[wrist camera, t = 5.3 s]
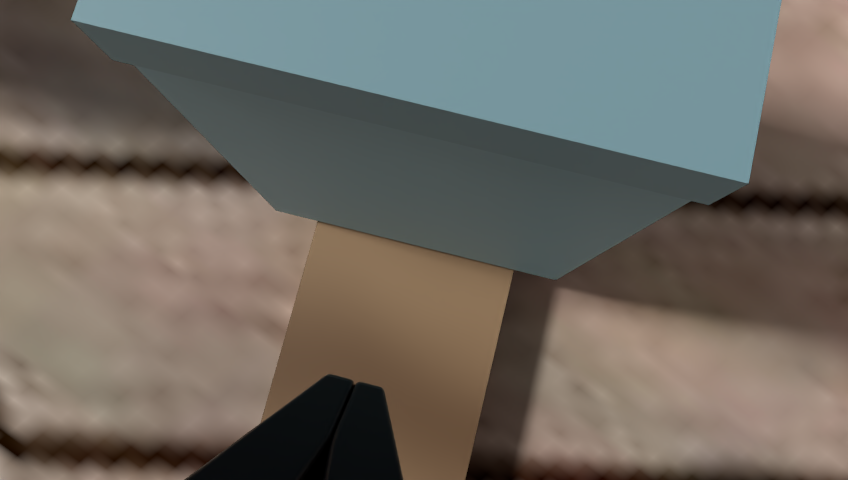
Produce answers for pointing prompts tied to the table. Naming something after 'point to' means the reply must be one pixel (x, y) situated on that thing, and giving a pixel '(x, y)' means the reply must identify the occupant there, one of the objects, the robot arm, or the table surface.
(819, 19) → the table surface
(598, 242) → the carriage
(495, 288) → the rail
